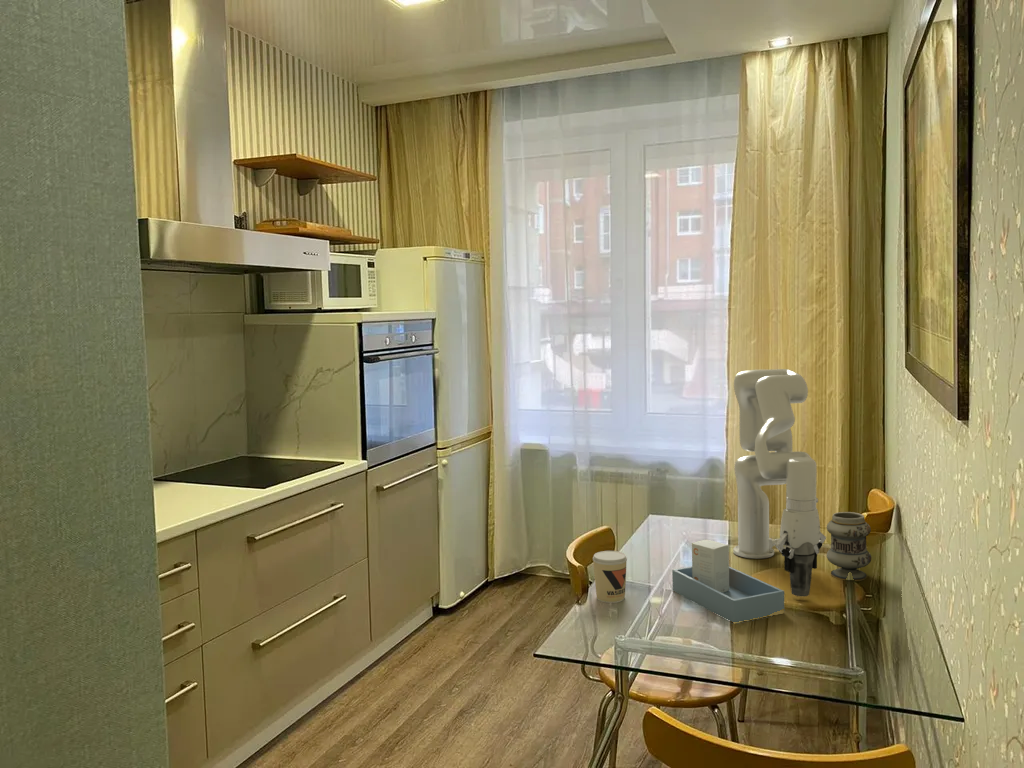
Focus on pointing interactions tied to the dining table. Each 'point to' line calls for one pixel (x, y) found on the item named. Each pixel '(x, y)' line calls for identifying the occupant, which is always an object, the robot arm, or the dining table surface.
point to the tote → (731, 595)
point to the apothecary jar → (848, 545)
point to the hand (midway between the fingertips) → (800, 568)
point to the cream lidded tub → (610, 576)
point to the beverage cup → (802, 569)
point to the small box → (711, 564)
